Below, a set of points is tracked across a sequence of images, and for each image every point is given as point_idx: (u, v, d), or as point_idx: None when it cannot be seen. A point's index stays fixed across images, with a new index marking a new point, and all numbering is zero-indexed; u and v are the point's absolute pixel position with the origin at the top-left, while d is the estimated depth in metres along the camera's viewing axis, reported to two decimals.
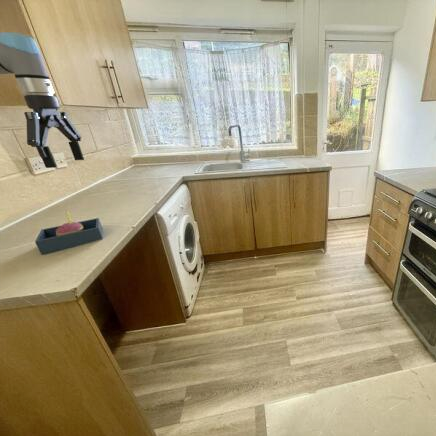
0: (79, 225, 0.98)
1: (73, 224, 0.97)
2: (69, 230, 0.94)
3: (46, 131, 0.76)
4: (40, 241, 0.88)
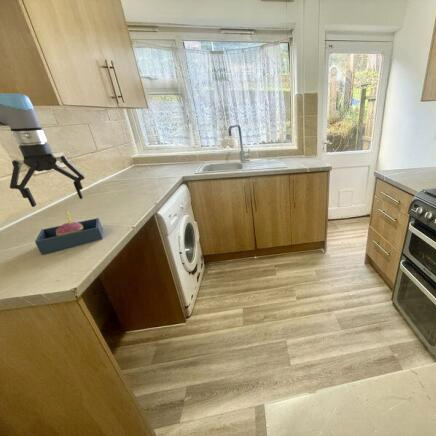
0: (79, 225, 0.98)
1: (73, 224, 0.97)
2: (69, 230, 0.94)
3: (27, 176, 0.85)
4: (40, 241, 0.88)
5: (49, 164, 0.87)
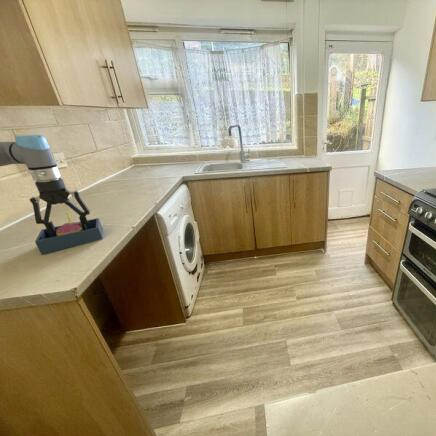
0: (79, 225, 0.98)
1: (73, 224, 0.97)
2: (69, 230, 0.94)
3: (47, 211, 0.91)
4: (40, 241, 0.88)
5: (63, 198, 0.92)
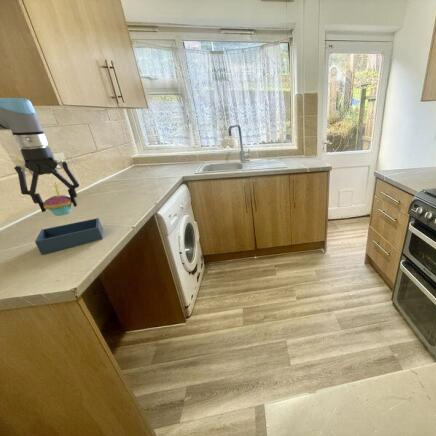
0: (68, 198, 0.93)
1: (62, 197, 0.92)
2: (57, 202, 0.90)
3: (34, 181, 0.86)
4: (40, 241, 0.88)
5: (50, 168, 0.87)
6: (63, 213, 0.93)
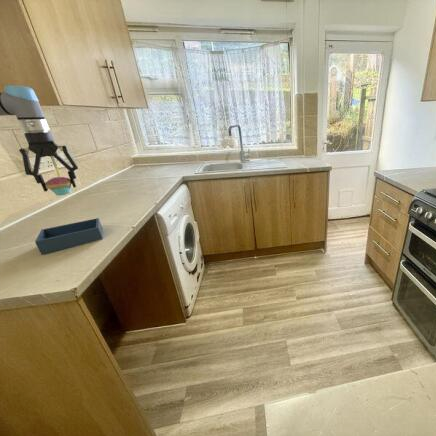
0: (68, 179, 1.02)
1: (62, 178, 1.01)
2: (58, 182, 0.99)
3: (36, 162, 0.95)
4: (40, 241, 0.88)
5: (51, 150, 0.96)
6: (63, 193, 1.02)
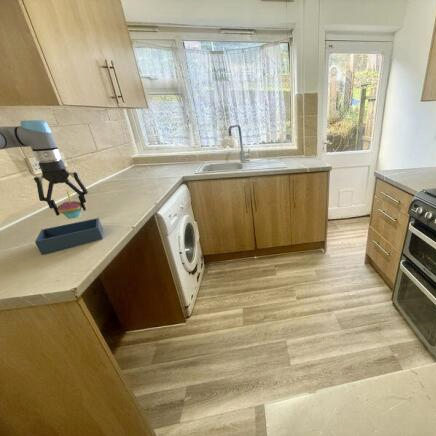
0: (78, 203, 1.08)
1: (73, 202, 1.07)
2: (69, 207, 1.05)
3: (50, 189, 1.01)
4: (40, 241, 0.88)
5: (63, 178, 1.02)
6: (74, 216, 1.08)
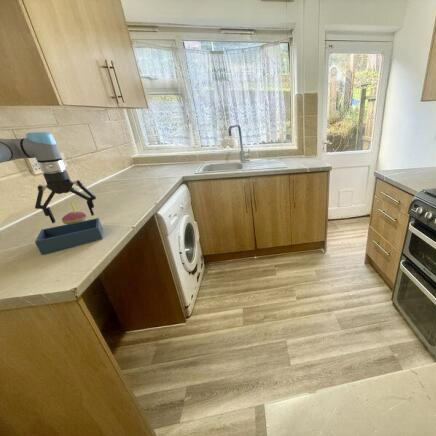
0: (83, 214, 1.10)
1: (77, 213, 1.09)
2: (74, 218, 1.07)
3: (49, 198, 1.02)
4: (40, 241, 0.88)
5: (67, 188, 1.04)
6: None
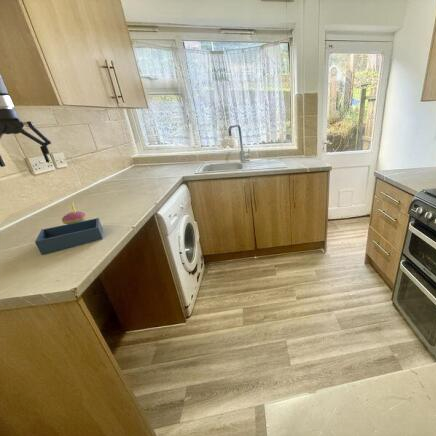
0: (83, 214, 1.10)
1: (77, 213, 1.09)
2: (74, 218, 1.07)
3: None
4: (40, 241, 0.88)
5: (16, 128, 0.96)
6: None
